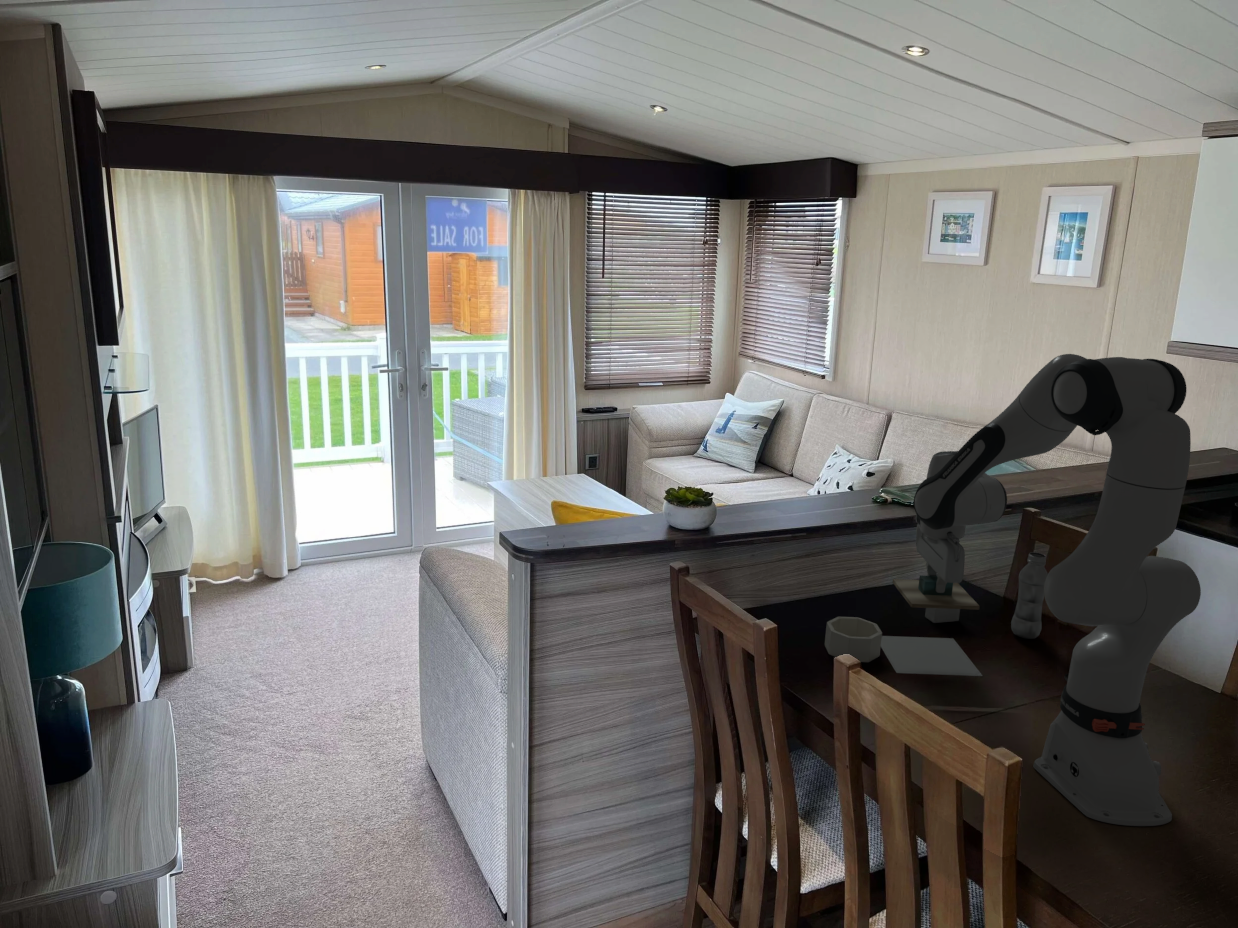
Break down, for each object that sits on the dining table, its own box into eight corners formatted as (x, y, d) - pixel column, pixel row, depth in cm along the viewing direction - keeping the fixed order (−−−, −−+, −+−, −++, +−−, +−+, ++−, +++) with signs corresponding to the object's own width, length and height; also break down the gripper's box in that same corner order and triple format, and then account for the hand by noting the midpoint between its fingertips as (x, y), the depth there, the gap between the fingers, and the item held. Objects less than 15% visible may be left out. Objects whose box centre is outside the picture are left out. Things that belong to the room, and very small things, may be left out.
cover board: (979, 609, 188) (981, 592, 187) (911, 607, 188) (913, 590, 188) (955, 584, 202) (957, 568, 201) (892, 582, 202) (894, 566, 201)
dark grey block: (958, 623, 218) (963, 584, 215) (933, 625, 216) (938, 585, 213) (949, 616, 221) (954, 578, 218) (924, 618, 219) (929, 580, 217)
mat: (982, 678, 190) (982, 675, 190) (896, 675, 190) (896, 672, 190) (952, 640, 208) (953, 638, 208) (873, 637, 208) (874, 635, 208)
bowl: (883, 665, 195) (886, 639, 193) (831, 663, 195) (834, 637, 193) (870, 642, 205) (872, 617, 204) (821, 640, 205) (823, 616, 204)
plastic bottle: (1033, 630, 214) (1046, 550, 209) (1044, 643, 208) (1057, 561, 203) (1005, 628, 215) (1017, 548, 210) (1014, 641, 209) (1027, 559, 204)
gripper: (976, 542, 181) (967, 606, 185) (942, 511, 201) (934, 570, 204) (944, 540, 181) (936, 605, 185) (913, 510, 201) (906, 569, 205)
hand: (935, 587), depth 195 cm, fingers closed on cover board, 3 cm apart
